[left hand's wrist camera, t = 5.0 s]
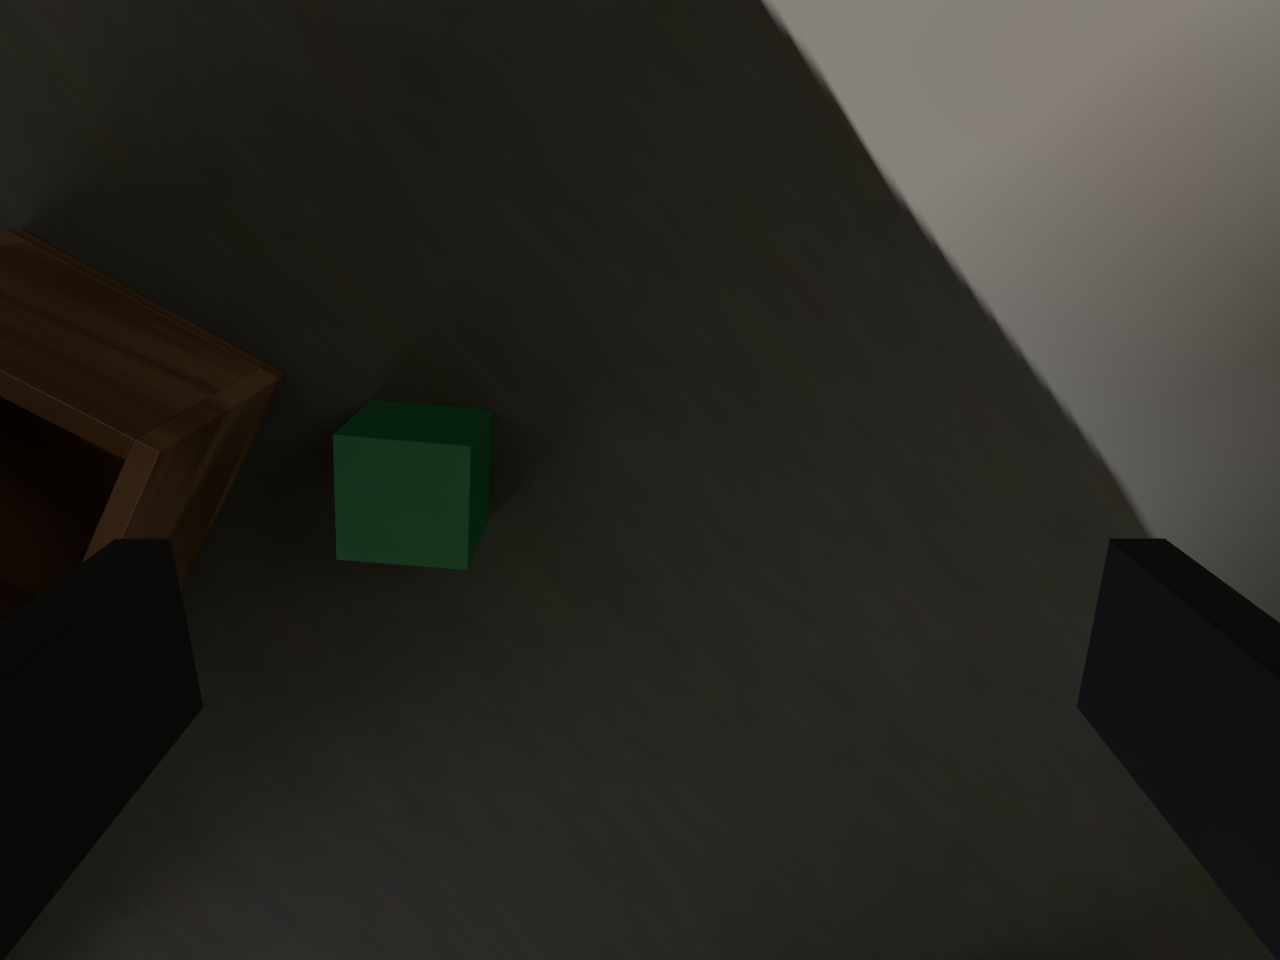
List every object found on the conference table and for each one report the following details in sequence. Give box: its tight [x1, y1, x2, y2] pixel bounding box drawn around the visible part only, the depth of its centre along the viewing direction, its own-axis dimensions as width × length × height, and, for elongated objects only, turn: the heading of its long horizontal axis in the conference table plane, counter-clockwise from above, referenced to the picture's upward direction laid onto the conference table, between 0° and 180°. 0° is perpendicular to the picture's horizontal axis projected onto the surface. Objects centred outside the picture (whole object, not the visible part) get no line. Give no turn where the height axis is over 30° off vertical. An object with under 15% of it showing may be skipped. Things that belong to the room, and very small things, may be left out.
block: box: [332, 399, 492, 570], centre depth 39 cm, size 6×6×6 cm
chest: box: [0, 229, 285, 623], centre depth 36 cm, size 17×12×11 cm
